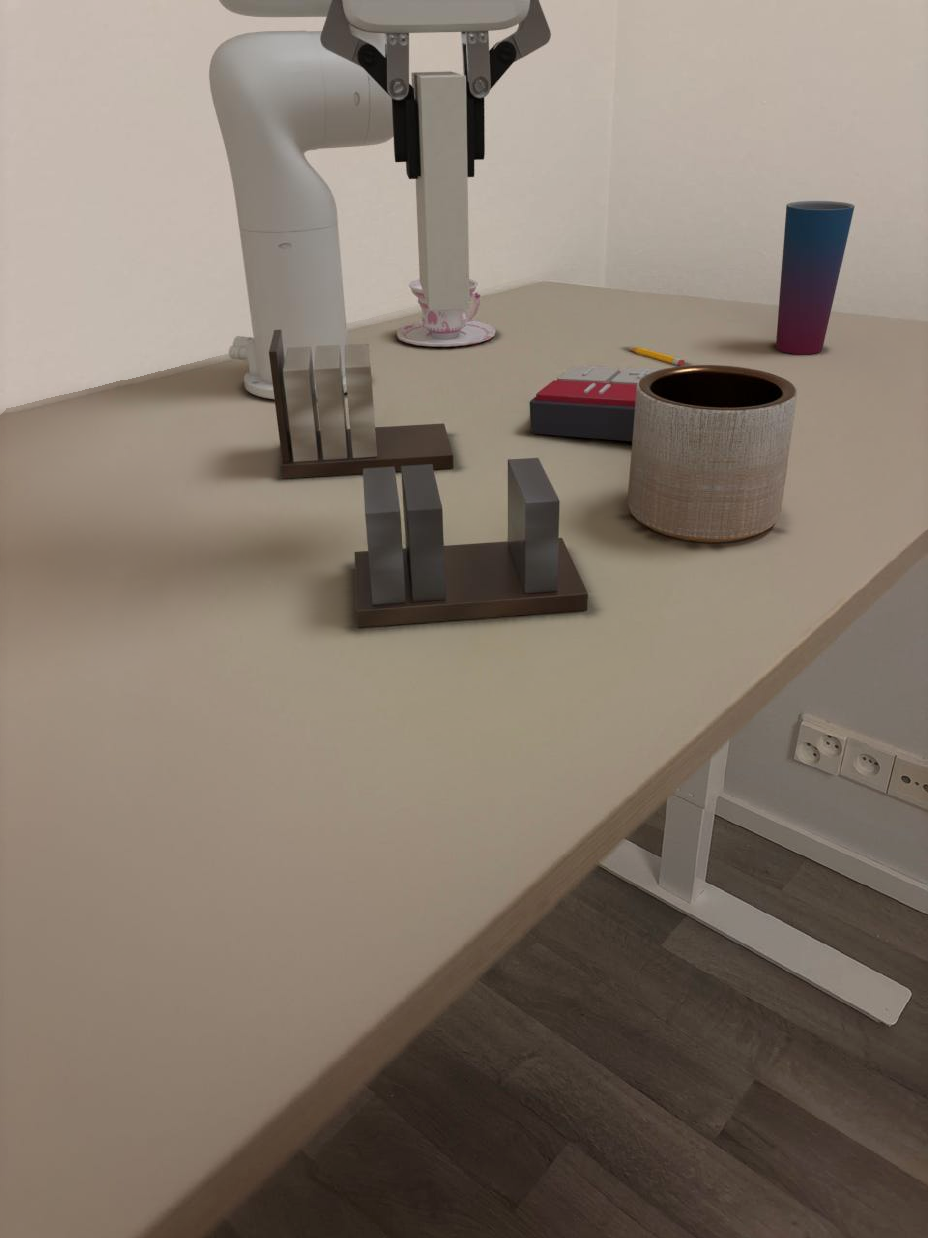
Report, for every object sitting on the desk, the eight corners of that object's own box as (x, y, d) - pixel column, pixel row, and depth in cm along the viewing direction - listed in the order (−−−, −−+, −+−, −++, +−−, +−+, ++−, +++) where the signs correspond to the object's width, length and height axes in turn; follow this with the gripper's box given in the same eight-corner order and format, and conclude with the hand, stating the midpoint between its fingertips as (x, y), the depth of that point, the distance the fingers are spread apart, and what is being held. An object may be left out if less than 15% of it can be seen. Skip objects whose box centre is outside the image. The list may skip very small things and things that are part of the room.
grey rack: (357, 628, 58) (347, 517, 54) (355, 567, 65) (346, 466, 61) (587, 610, 59) (592, 501, 55) (561, 552, 66) (564, 452, 62)
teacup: (377, 341, 116) (373, 288, 113) (432, 320, 125) (430, 270, 122) (462, 353, 110) (460, 297, 107) (513, 330, 119) (513, 278, 116)
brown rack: (282, 478, 79) (266, 353, 74) (287, 445, 86) (273, 328, 80) (453, 468, 80) (449, 344, 75) (444, 435, 87) (440, 320, 82)
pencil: (679, 367, 104) (680, 360, 104) (624, 351, 110) (625, 345, 110) (684, 366, 105) (685, 359, 104) (629, 350, 111) (630, 344, 110)
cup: (837, 344, 110) (861, 202, 102) (821, 359, 105) (845, 210, 97) (777, 338, 113) (796, 199, 106) (759, 351, 108) (778, 207, 101)
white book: (429, 311, 57) (420, 76, 50) (419, 281, 63) (411, 72, 57) (469, 309, 57) (466, 75, 51) (456, 280, 64) (451, 71, 57)
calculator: (569, 360, 93) (727, 367, 87) (570, 404, 95) (724, 414, 89) (527, 393, 85) (698, 403, 79) (529, 440, 87) (695, 453, 81)
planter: (596, 511, 72) (602, 383, 67) (694, 475, 77) (706, 355, 72) (710, 562, 64) (727, 422, 59) (810, 517, 70) (833, 387, 65)
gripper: (574, -220, 51) (562, 164, 61) (266, -220, 50) (303, 172, 59) (608, -257, 45) (588, 178, 54) (255, -258, 43) (298, 188, 53)
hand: (439, 172), depth 57 cm, fingers closed on white book, 2 cm apart
